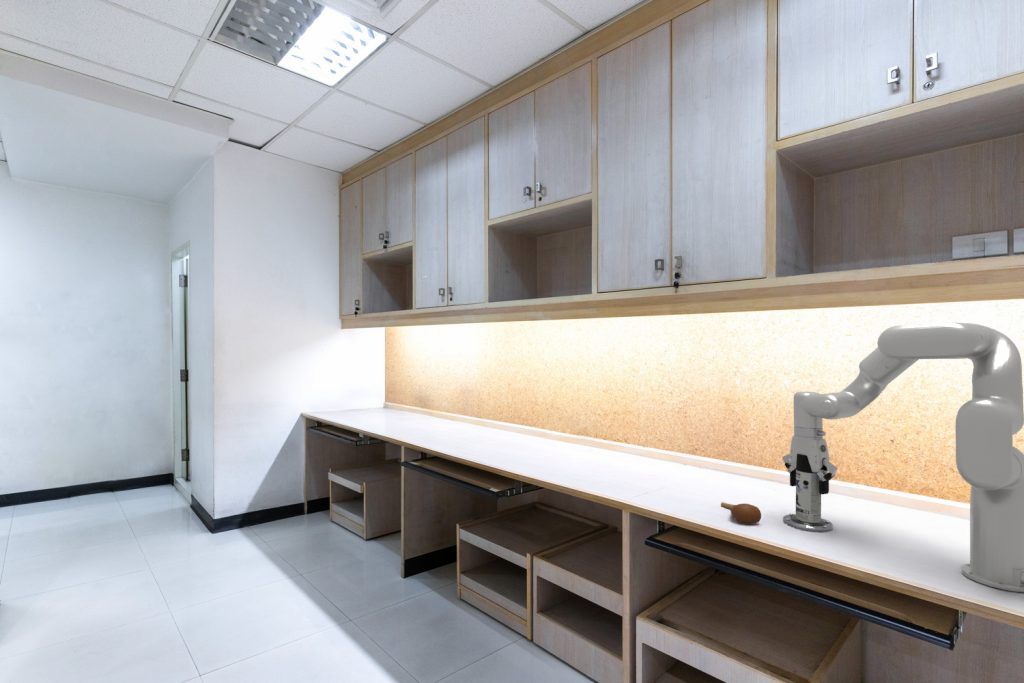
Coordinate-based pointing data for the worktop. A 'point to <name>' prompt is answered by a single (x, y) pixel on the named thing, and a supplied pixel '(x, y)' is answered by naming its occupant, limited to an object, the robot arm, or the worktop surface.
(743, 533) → the worktop surface
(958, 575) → the worktop surface
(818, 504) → the spray can
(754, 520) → the pipe
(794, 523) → the flange
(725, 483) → the worktop surface
